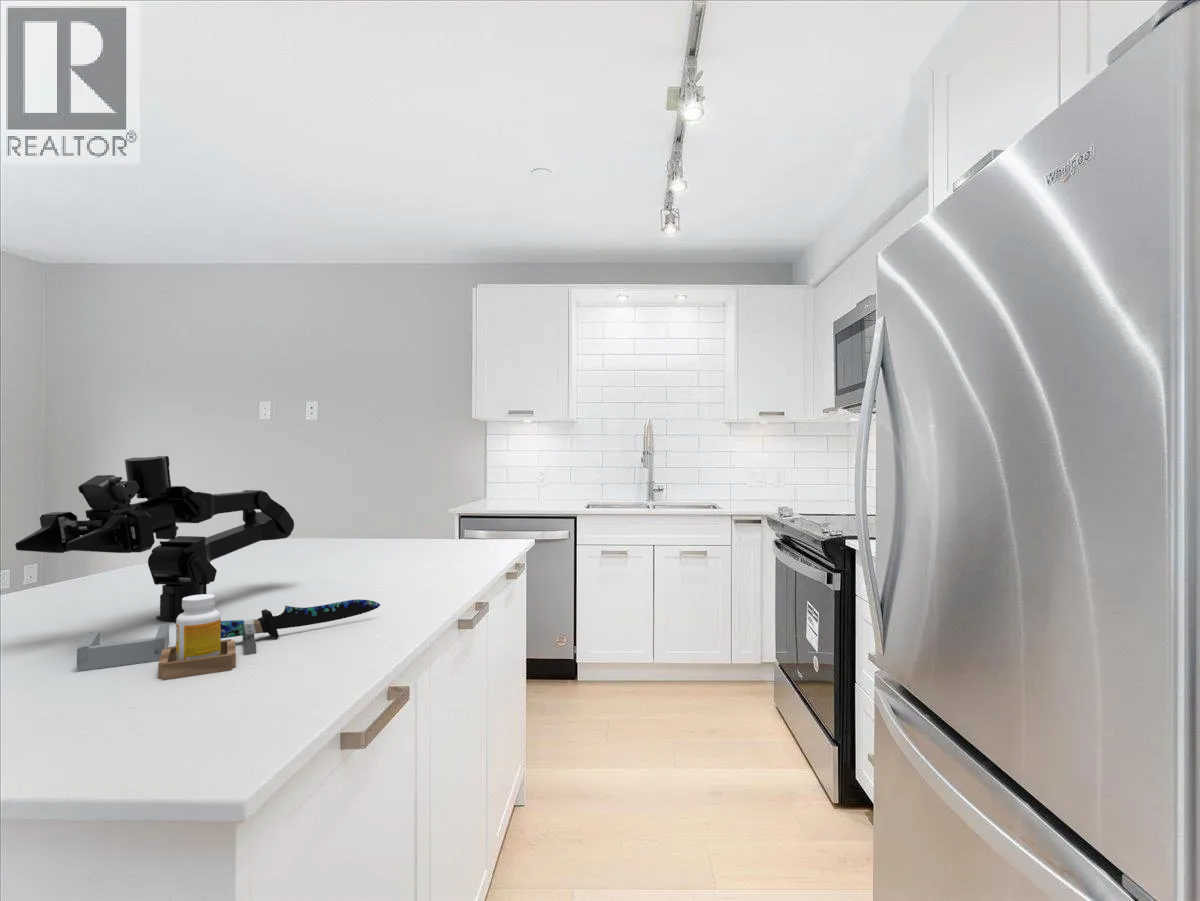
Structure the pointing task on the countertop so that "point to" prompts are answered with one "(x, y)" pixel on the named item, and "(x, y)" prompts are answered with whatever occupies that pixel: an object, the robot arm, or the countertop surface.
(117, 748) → the countertop surface
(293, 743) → the countertop surface
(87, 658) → the tray
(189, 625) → the supplement bottle
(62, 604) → the countertop surface
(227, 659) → the socket collar
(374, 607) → the knife
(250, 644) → the bar
